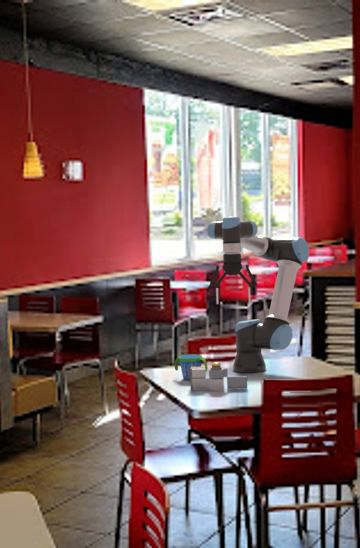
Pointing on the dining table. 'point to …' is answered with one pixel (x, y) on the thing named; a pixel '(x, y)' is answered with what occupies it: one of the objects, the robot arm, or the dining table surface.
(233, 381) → the grey stacked cubes
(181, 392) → the dining table surface
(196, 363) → the snack cup
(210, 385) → the fixed leaf
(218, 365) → the pin
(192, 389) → the block
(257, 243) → the robot arm
